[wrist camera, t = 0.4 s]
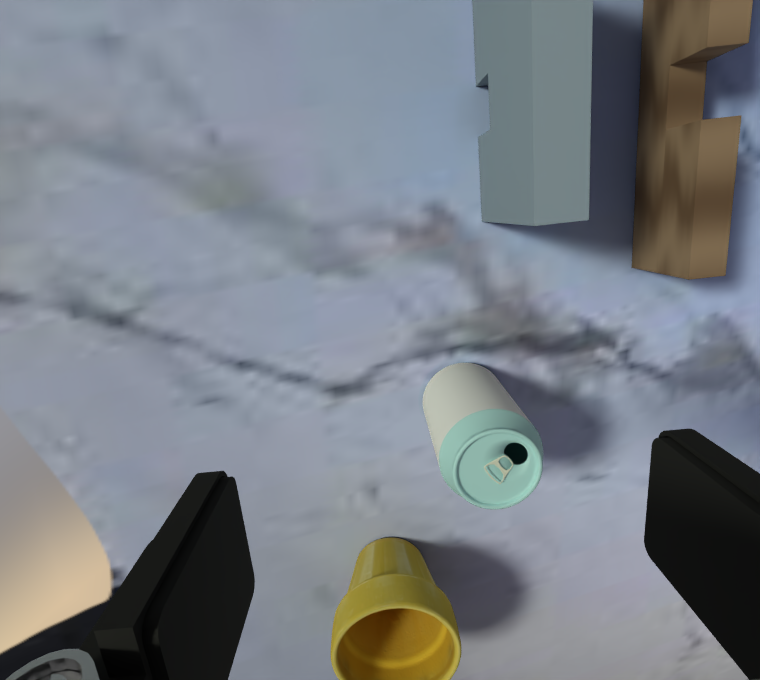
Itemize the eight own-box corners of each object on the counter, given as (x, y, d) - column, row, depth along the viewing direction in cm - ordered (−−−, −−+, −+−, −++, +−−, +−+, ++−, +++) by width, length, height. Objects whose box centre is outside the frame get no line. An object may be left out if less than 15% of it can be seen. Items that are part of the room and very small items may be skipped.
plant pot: (431, 612, 47) (447, 712, 38) (331, 601, 46) (322, 700, 37) (452, 527, 44) (474, 612, 35) (345, 514, 44) (339, 597, 34)
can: (431, 353, 40) (457, 412, 28) (509, 367, 40) (567, 431, 29) (414, 427, 41) (432, 510, 30) (489, 439, 42) (535, 526, 30)
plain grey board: (471, -12, 32) (529, -136, 21) (514, -17, 32) (595, -143, 21) (481, 221, 37) (534, 225, 25) (519, 217, 37) (588, 220, 25)
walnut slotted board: (647, -83, 32) (723, -162, 25) (683, -87, 32) (769, -168, 25) (631, 267, 38) (688, 279, 31) (661, 264, 38) (725, 275, 31)
